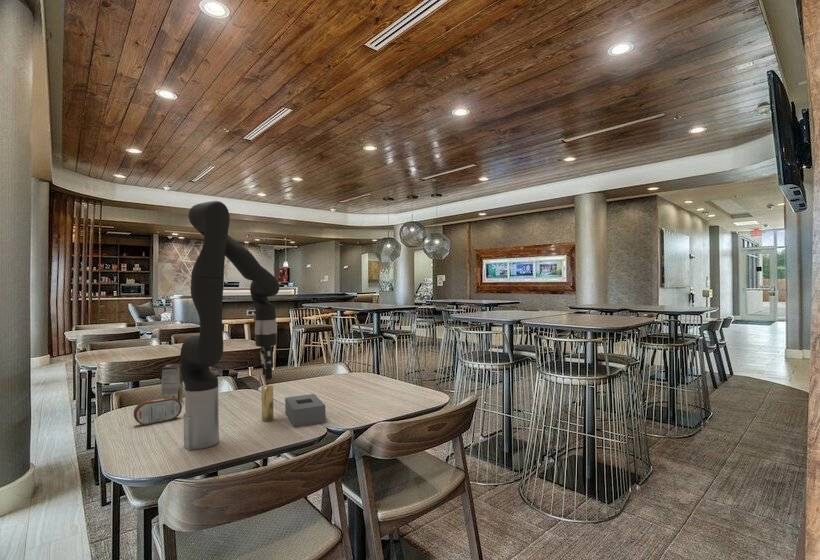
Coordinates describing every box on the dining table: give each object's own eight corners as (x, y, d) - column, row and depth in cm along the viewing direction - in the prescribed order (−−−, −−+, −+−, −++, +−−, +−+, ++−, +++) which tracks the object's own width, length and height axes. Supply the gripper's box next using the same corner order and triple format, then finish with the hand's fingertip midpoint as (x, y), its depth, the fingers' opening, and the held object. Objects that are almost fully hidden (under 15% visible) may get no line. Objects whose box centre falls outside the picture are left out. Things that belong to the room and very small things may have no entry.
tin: (181, 416, 158) (180, 394, 158) (182, 418, 156) (182, 396, 156) (133, 425, 149) (133, 402, 149) (134, 428, 146) (134, 403, 146)
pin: (264, 422, 149) (263, 388, 149) (260, 420, 152) (259, 386, 152) (275, 420, 151) (274, 386, 152) (271, 417, 154) (270, 384, 155)
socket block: (325, 422, 148) (325, 405, 148) (293, 427, 143) (293, 409, 143) (314, 409, 164) (314, 393, 164) (285, 413, 159) (285, 397, 159)
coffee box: (166, 401, 180) (166, 364, 180) (183, 400, 181) (182, 362, 182) (160, 407, 171) (160, 367, 171) (178, 405, 173) (178, 366, 173)
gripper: (253, 331, 157) (254, 374, 157) (257, 335, 144) (258, 382, 144) (274, 329, 160) (275, 372, 160) (279, 333, 147) (280, 379, 147)
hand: (267, 376), depth 152 cm, fingers open, 8 cm apart
